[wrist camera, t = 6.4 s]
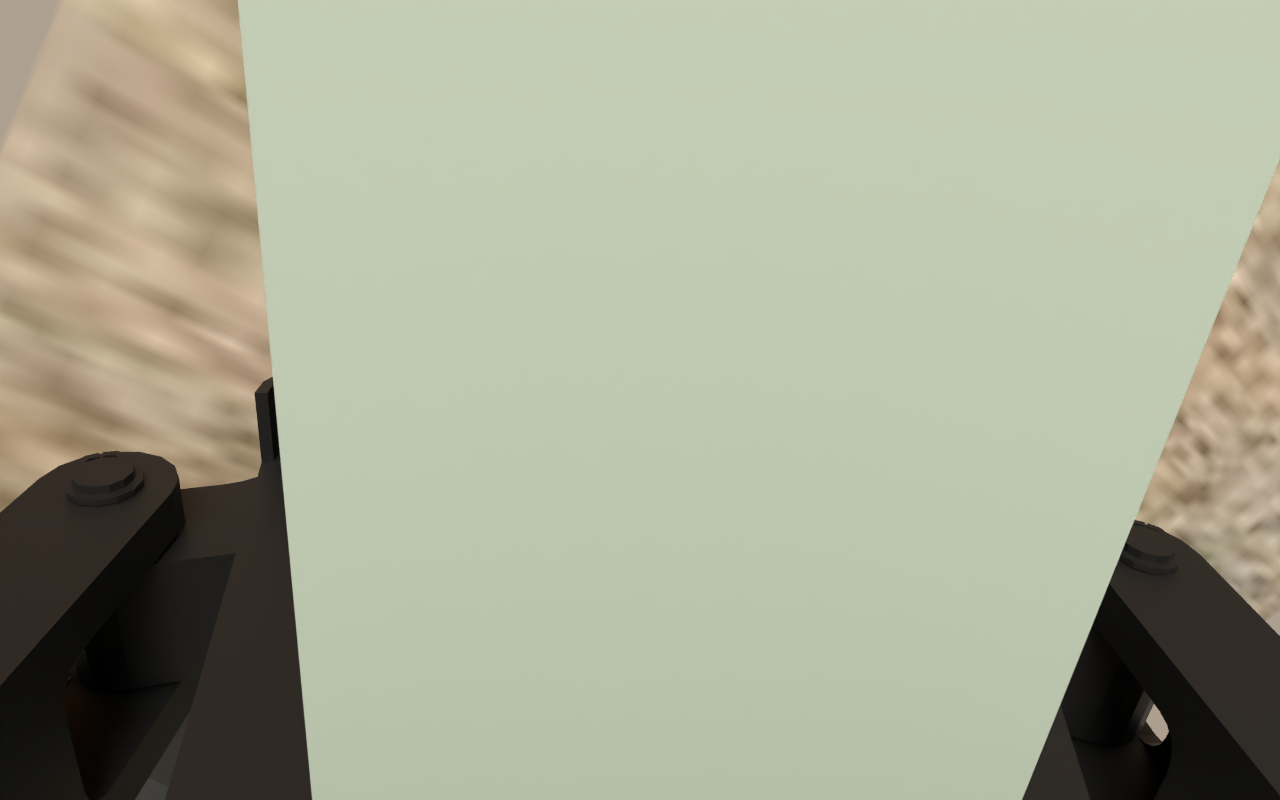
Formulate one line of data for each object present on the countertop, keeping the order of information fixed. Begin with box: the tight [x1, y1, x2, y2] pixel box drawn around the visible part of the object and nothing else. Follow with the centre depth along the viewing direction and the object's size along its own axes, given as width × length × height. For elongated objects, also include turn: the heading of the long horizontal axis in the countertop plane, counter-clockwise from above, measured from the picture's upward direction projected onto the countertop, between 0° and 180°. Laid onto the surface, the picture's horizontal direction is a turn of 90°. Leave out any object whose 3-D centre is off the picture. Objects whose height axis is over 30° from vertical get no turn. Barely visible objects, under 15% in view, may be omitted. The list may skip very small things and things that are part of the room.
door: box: [238, 0, 1280, 800], centre depth 13 cm, size 14×5×17 cm, turn 175°
